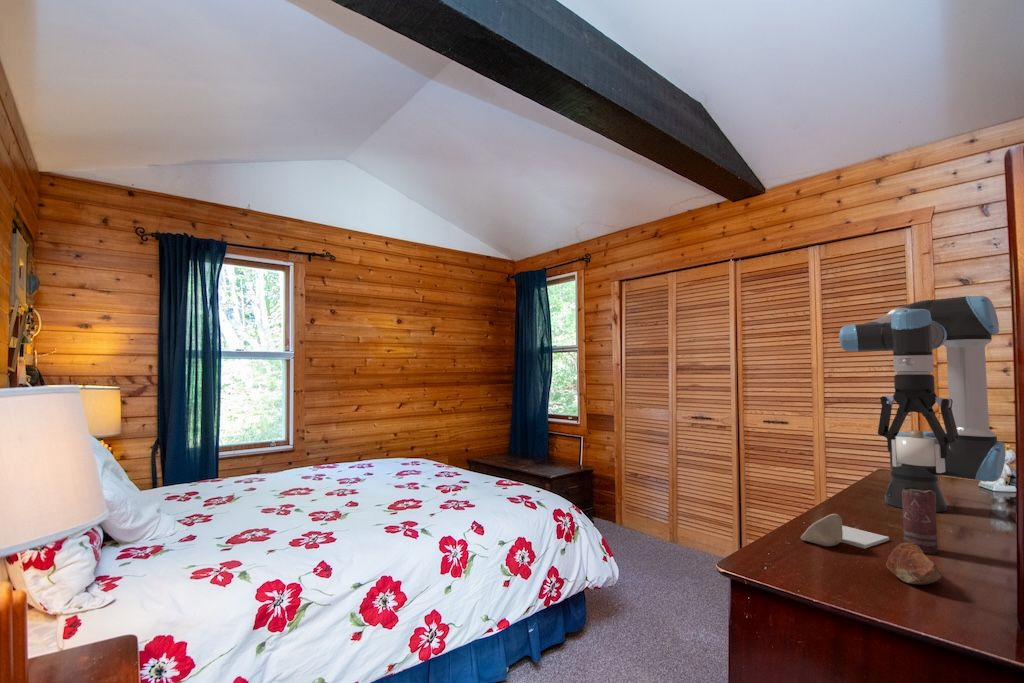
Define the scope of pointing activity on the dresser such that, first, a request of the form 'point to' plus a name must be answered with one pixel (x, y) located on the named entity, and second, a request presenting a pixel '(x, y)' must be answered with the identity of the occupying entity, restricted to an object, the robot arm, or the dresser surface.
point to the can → (920, 518)
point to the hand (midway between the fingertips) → (918, 468)
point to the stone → (825, 531)
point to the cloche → (916, 449)
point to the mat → (861, 537)
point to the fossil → (912, 565)
